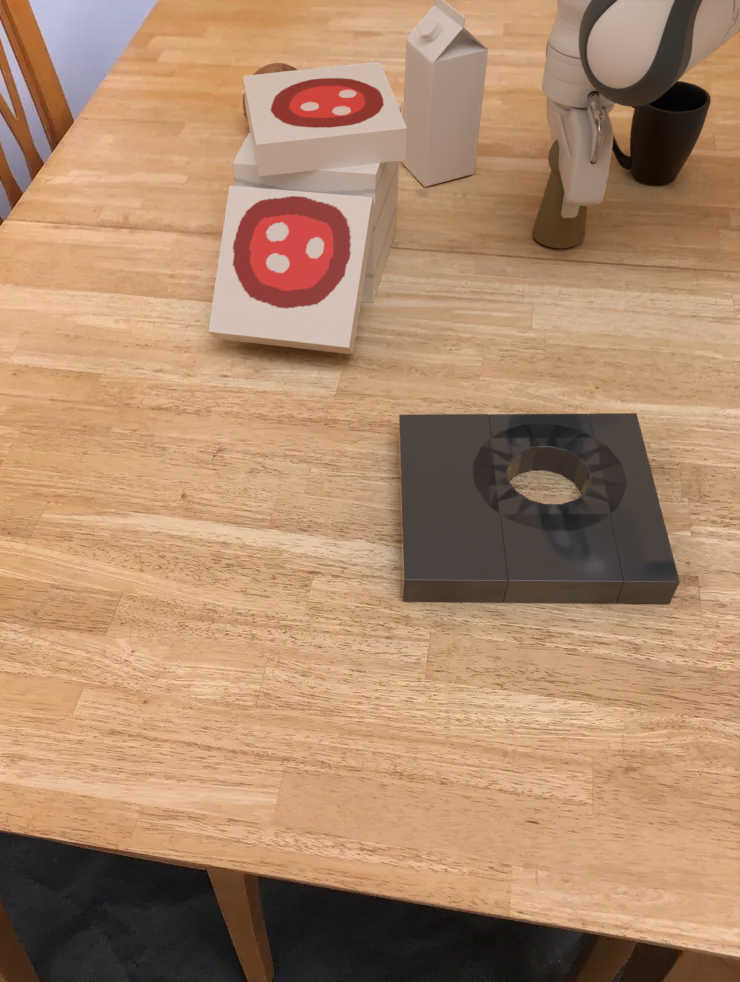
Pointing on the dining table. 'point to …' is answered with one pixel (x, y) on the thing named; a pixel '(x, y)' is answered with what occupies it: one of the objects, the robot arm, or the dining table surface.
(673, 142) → the mug
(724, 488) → the dining table surface
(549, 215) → the brown pawn shaped plug
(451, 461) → the drain plate
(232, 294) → the pizza boxes
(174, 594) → the dining table surface
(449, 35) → the milk carton
